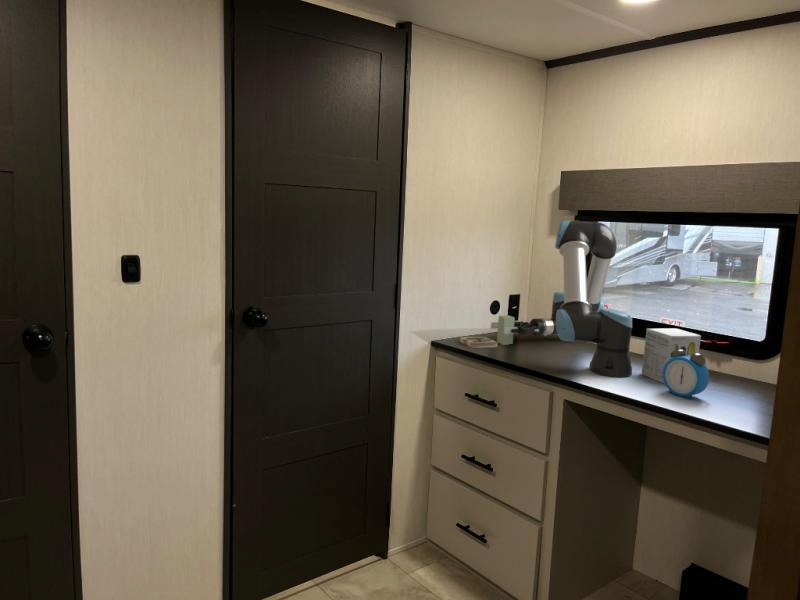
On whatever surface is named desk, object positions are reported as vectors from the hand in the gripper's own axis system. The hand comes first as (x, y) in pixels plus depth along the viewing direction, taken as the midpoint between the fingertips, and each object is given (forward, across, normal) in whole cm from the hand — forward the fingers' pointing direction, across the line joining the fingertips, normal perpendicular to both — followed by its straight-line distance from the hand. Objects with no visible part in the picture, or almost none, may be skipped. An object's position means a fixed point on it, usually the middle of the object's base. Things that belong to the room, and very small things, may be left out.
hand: (497, 328), depth 265 cm
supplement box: (-36, -62, -7) cm, 72 cm away
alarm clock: (-25, -80, -7) cm, 84 cm away
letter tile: (+9, 0, -7) cm, 11 cm away
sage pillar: (-4, 0, -7) cm, 8 cm away
